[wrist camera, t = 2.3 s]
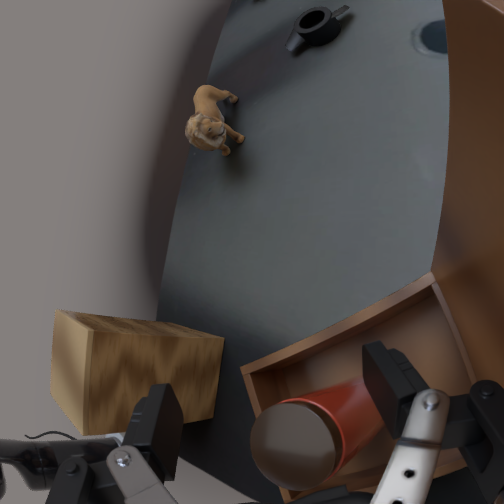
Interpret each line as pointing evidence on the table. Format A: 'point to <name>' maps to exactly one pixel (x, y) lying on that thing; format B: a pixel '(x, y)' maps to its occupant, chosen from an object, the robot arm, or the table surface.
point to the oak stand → (148, 368)
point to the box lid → (475, 184)
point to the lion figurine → (210, 121)
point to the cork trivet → (71, 368)
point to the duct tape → (315, 27)
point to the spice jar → (314, 434)
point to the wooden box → (350, 364)
